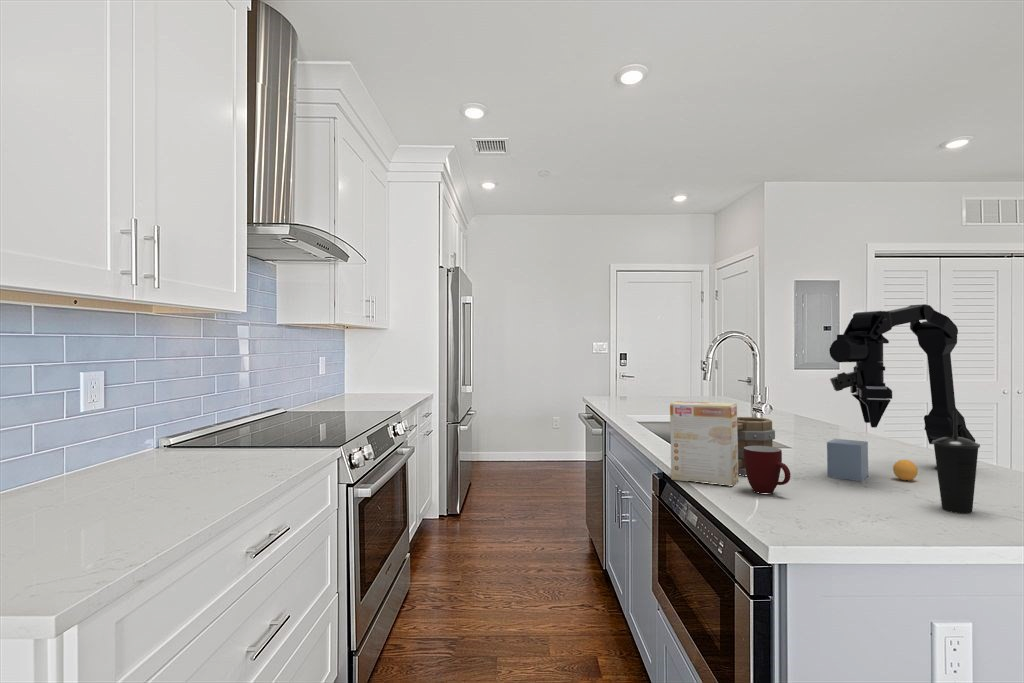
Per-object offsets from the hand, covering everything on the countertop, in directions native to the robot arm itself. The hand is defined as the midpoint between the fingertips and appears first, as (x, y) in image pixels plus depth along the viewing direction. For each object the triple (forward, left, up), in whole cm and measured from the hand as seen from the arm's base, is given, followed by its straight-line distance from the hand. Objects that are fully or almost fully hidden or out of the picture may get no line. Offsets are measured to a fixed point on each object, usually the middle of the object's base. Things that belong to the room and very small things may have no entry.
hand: (870, 424), depth 140 cm
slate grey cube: (-1, -5, -14) cm, 15 cm away
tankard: (+13, -27, -14) cm, 33 cm away
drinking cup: (+18, +18, -14) cm, 29 cm away
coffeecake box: (+27, -31, -14) cm, 43 cm away
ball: (-5, +6, -11) cm, 14 cm away
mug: (+29, -15, -14) cm, 35 cm away
